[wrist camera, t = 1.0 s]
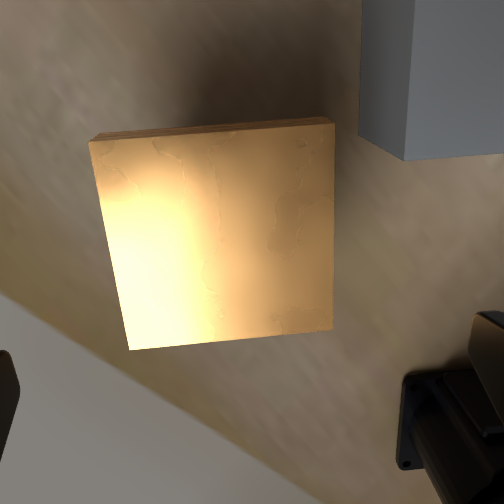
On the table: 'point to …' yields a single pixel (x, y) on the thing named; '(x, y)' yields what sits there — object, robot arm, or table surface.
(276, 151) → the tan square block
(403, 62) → the gray rectangular block
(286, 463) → the table surface
